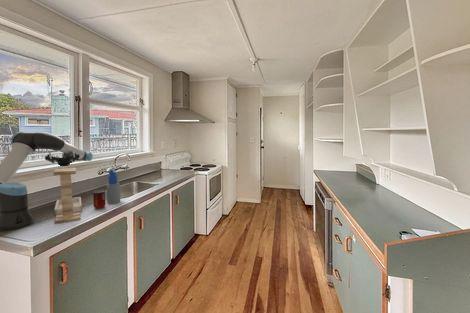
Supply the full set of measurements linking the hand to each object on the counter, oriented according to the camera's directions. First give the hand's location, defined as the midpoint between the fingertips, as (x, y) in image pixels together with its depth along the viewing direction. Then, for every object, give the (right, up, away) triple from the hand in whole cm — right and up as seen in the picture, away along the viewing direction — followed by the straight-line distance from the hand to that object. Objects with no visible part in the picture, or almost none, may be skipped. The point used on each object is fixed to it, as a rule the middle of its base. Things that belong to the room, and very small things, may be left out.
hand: (62, 152), depth 160 cm
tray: (+9, -38, -5) cm, 40 cm away
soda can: (+29, -39, -4) cm, 49 cm away
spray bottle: (+32, -37, +9) cm, 50 cm away
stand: (+22, -40, -24) cm, 52 cm away
